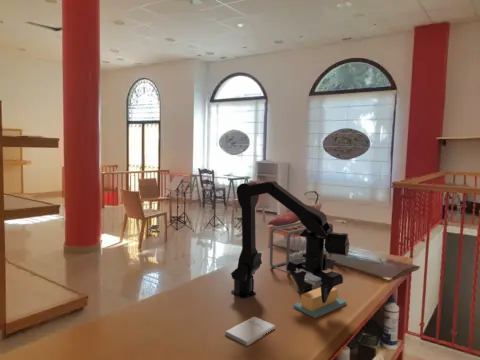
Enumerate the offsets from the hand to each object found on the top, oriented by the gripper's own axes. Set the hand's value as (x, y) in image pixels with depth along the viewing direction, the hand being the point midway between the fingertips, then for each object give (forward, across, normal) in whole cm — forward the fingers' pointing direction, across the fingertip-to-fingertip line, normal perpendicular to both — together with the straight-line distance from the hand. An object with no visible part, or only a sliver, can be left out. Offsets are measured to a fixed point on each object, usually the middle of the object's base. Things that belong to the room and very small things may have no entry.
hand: (312, 297), depth 121 cm
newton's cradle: (+4, +32, -30) cm, 44 cm away
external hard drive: (+5, +1, +25) cm, 26 cm away
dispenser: (+4, +9, -12) cm, 15 cm away
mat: (+4, 0, -4) cm, 6 cm away
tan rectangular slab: (+3, 0, -4) cm, 5 cm away
